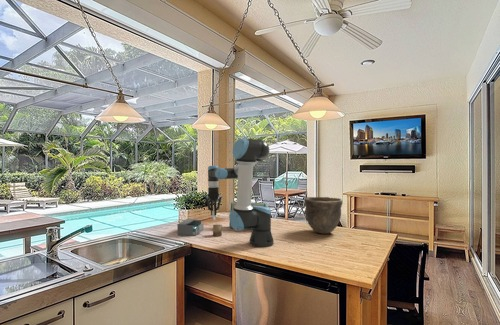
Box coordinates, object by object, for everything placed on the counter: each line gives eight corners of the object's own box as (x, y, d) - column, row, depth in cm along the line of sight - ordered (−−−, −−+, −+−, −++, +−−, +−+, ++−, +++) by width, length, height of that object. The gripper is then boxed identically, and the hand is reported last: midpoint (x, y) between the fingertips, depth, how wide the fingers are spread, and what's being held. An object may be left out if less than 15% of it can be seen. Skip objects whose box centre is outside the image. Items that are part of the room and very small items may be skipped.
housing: (195, 236, 188) (195, 224, 188) (177, 235, 190) (177, 224, 190) (203, 229, 207) (203, 219, 207) (187, 228, 209) (187, 218, 209)
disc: (195, 231, 194) (195, 228, 194) (184, 231, 195) (184, 227, 195) (198, 229, 202) (198, 225, 202) (188, 228, 203) (188, 225, 203)
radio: (229, 228, 211) (229, 196, 211) (232, 226, 218) (232, 194, 218) (266, 231, 202) (266, 197, 202) (268, 228, 210) (268, 196, 210)
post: (220, 236, 186) (220, 226, 186) (212, 236, 187) (212, 226, 187) (222, 234, 192) (222, 224, 192) (214, 234, 193) (214, 224, 193)
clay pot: (309, 237, 184) (309, 200, 184) (301, 228, 210) (301, 196, 210) (348, 237, 185) (348, 200, 185) (335, 228, 210) (335, 196, 210)
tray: (196, 234, 189) (196, 228, 189) (179, 234, 191) (179, 227, 191) (203, 228, 206) (203, 222, 206) (188, 228, 208) (188, 222, 208)
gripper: (223, 186, 201) (223, 218, 200) (206, 186, 203) (206, 218, 202) (221, 187, 194) (221, 220, 193) (203, 187, 195) (203, 220, 194)
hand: (213, 219), depth 197 cm, fingers closed
